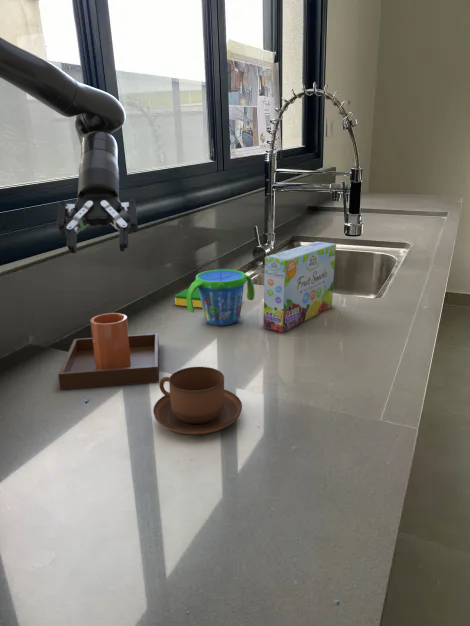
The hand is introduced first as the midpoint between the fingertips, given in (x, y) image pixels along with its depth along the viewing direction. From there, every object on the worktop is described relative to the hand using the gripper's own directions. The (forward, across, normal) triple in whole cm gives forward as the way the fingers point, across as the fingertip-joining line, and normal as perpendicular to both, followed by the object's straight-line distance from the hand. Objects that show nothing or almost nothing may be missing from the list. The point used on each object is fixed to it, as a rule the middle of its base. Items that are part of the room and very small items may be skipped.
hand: (97, 249), depth 88 cm
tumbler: (+20, +2, +5) cm, 21 cm away
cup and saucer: (+34, +15, -8) cm, 38 cm away
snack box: (+6, +40, +20) cm, 45 cm away
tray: (+20, +2, +6) cm, 21 cm away
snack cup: (+6, +23, +20) cm, 31 cm away
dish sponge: (-3, +21, +30) cm, 36 cm away
